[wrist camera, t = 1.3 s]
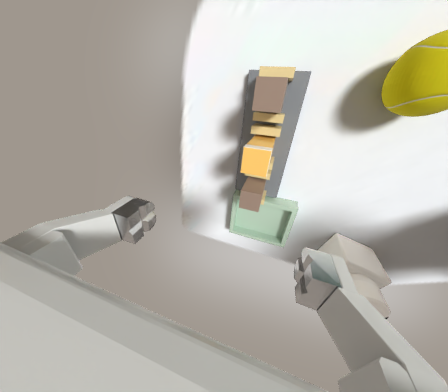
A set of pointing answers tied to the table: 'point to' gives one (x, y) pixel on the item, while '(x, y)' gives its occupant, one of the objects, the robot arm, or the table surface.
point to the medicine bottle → (361, 269)
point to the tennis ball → (419, 79)
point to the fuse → (257, 155)
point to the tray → (264, 220)
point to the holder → (270, 126)
